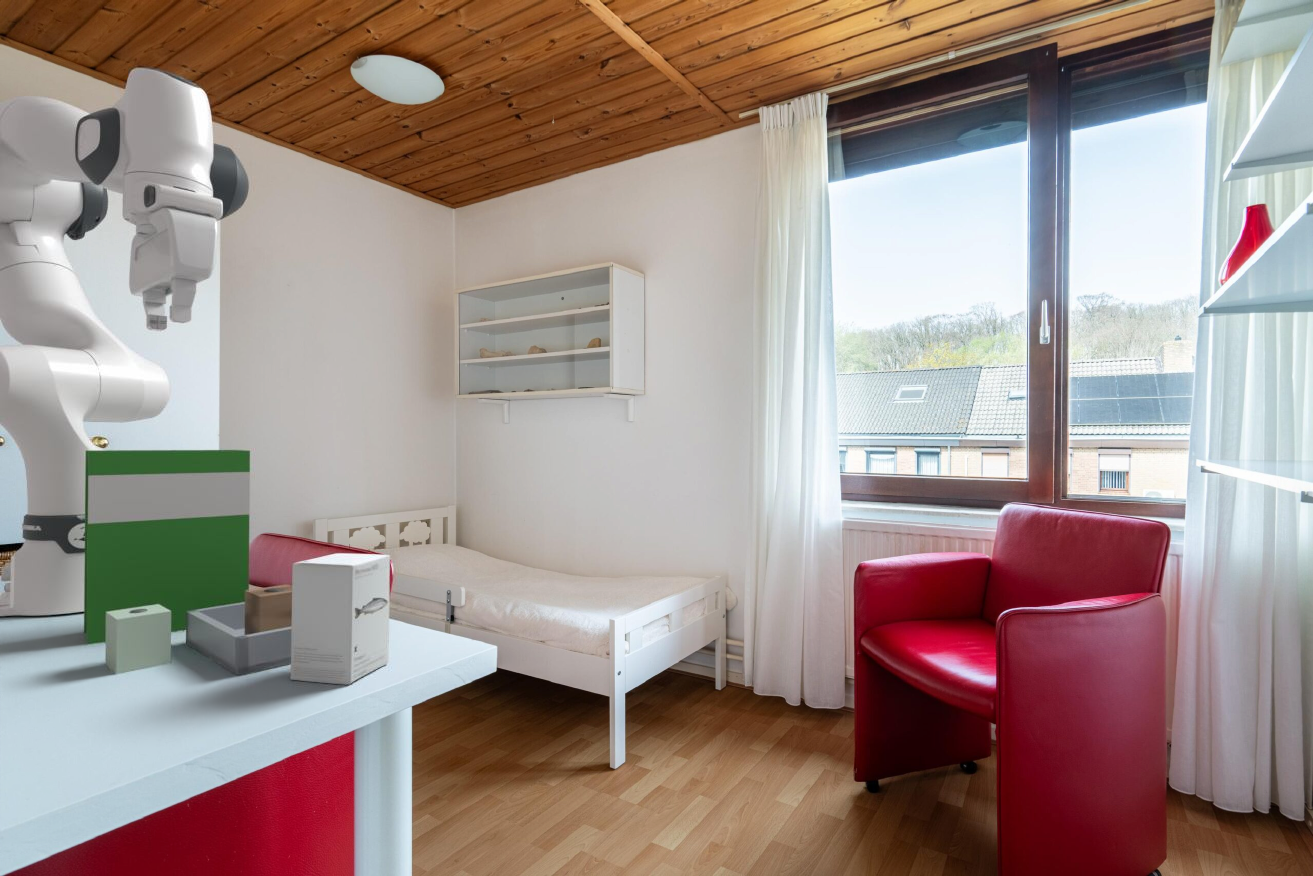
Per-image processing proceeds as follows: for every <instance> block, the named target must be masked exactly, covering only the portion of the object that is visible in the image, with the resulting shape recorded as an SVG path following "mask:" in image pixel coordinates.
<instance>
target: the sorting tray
mask: <svg viewBox="0 0 1313 876" xmlns="http://www.w3.org/2000/svg"><path fill="white" fill-rule="evenodd" d="M291 629H292V626H291V627H286V628H280V629H275V630H270V631H265V632H259V633H254V634H249V635H245V602H242V603H236V604H229V605H223V606H216V607H210V608H204V609H197V610H191V611H186V630H185V644H186V645H187V646H189V647H191V648H193V649H195V650H196V651H198V652H199V653H201V654H203V655H204V656H206V657H207V658H208V659H210V660H212V661H214V662H215V663H216V664H219V665H220V666H221V667H223V668H225V669H226V670H229V672H231V673H233V674H234V675H236V676H239V677H240V676H244V675H248V674H252V673H256V672H260V671H265V670H270V669H275V668H278V667H282V666H287V665H291Z"/></svg>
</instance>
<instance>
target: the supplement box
mask: <svg viewBox="0 0 1313 876" xmlns="http://www.w3.org/2000/svg"><path fill="white" fill-rule="evenodd" d="M390 563H391V555H389V554H378V553H377V554H375V553H374V554H373V553H341V552H339V553H337V552H336V553H333V554H327V555H323V556H319V557H315V558H311V559H305V560H302V561H301V560H300V561H297V562H294V563H292V571H291V572H292V573H291V574H292V578H291V579H292V581H291V582H292V583H291V586H292V629H291V664H290V680H292V681H300V682H301V681H302V682H313V683H322V684H323V683H324V684H334V685H335V684H336V685H348V686H349V685H351V684H352V683H354V682H355V681H357V680H359V679H361V678H363V677H364V676H366V675H368V674H370V673H371V672H373V671H376V670H378V669H379V668H381V667H384V666H386V665H387V664H388V663H389V653H390V652H389V651H390V650H389V648H390V647H389V645H390V644H389V643H390V639H389V638H390V577H391V576H390V572H391V571H390V570H391V567H390Z"/></svg>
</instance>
